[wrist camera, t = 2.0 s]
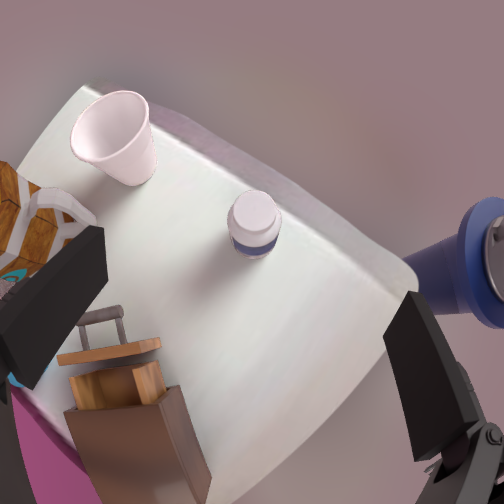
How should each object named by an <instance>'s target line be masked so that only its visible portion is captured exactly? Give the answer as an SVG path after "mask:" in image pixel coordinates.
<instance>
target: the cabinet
mask: <svg viewBox="0 0 504 504" xmlns="http://www.w3.org/2000/svg"><path fill="white" fill-rule="evenodd" d="M166 391H167V392H166V393H165V394H163V395H162V396H161V397H160V398H159V399H157V400H156V401H155V402H154V403H151V404H143V405H134V406H125V407H114V408H101V409H85V410H78V408H77V406H75V407H73V408H71V409H68V410H66V411H64V412H63V413H64V416H65V419H66V422H67V425H68V428H69V430H70V433H71V436H72V438H73V441H74V443H75V446H76V448H77V451H78V453H79V456H80V458H81V460H82V462H83V465H84V467H85V469H86V471H87V473H88V476H89V478H90V480H91V482H92V484H93V486H94V488H95V490H96V491H97V493H98V496H99V497H100V499H101V501H102V503H103V504H205V503H206V499H207V495H208V491H209V487H210V483H211V479H212V477H211V475H210V472H209V470H208V467H207V464H206V462H205V459H204V456H203V454H202V451H201V448H200V446H199V443H198V440H197V437H196V434H195V432H194V429H193V426H192V423H191V420H190V417H189V414H188V411H187V407H186V404H185V401H184V398H183V395H182V391H181V388H180V385H177V386H171V387H166Z"/></svg>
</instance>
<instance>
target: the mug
mask: <svg viewBox="0 0 504 504" xmlns="http://www.w3.org/2000/svg"><path fill="white" fill-rule="evenodd" d="M72 217H73V218H74V219H75V220H76V221H77V222H73V218H72ZM89 225H93V226H97V220H96V216H95V215H94V214H93V213H91V212H90V211H89V210H88V209H86V208H85V207H84V206H82V205H81V204H80V203H79V202H78V201H77V200H76V199H75V198H74V197H73V196H72V195H71V194H69V193H67V192H65V191H63V190H61V189H58V188H41V187H39V186H37V185H35V184H33V183H31V182H29V181H27V180H26V179H25V178H23V177H22V176H20V175H19V174H18V173H17V172H16V171H14V169H13V168H12V167H11V166H10V165H9V164H8V163H7V162H3V161H0V278H2V279H5V280H7V281H15V282H19V281H21V280H23V279H24V278H26V277H30V278H31V277H32V276H33V275H34V274H35V273H36V272H37V271H38V270H40V269H41V268H42V267H43V266H44V265H45V264H46V263H47V262H48V261H49V260H50V259H51V258H52V257H53V256H54V255H56V254H57V253H58V252H59V251H60V250H61V249H62V248H63V247H64V246H65V245H67V244H68V243H69V242H70V241H71V240H72V239H73V238H75V237H76V236H77V235H78V234H79V233H80V232H82V231H83V230H84V229H85V228H86V227H87V226H89Z"/></svg>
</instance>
